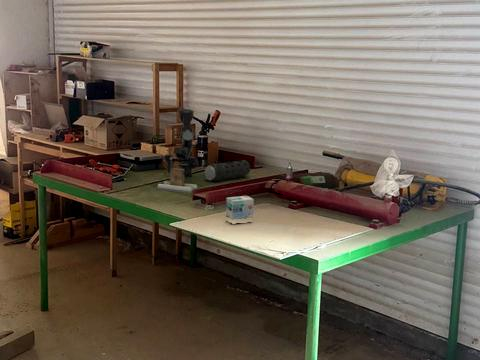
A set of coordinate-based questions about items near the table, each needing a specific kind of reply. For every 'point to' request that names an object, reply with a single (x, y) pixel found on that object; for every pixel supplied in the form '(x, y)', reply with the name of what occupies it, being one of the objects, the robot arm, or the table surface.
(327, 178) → the green bottle
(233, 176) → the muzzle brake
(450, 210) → the table surface
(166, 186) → the track board
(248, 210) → the light bulb box
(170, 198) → the table surface
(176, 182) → the wooden block
